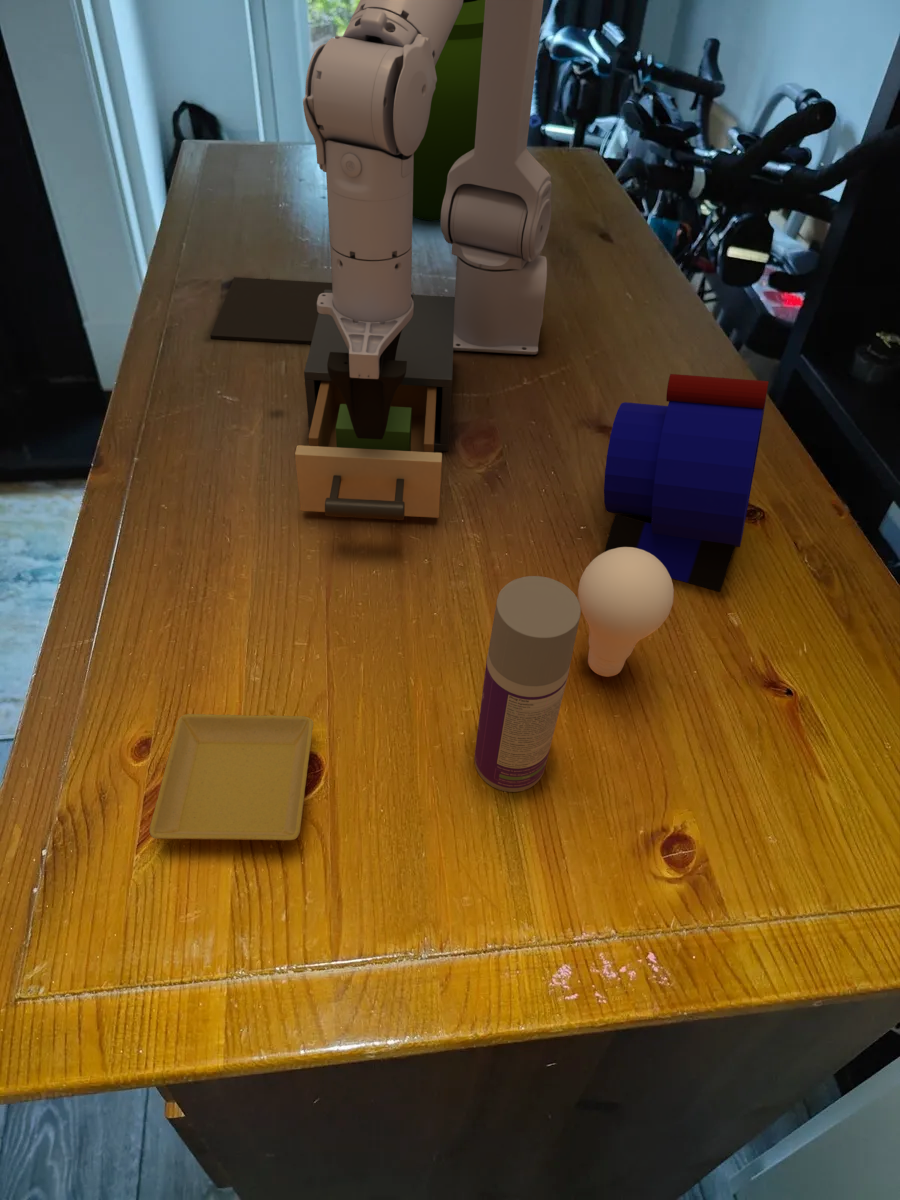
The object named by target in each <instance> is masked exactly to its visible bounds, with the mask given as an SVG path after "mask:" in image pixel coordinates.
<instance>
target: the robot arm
mask: <svg viewBox="0 0 900 1200" xmlns="http://www.w3.org/2000/svg"><path fill="white" fill-rule="evenodd" d="M462 5H463V0H359V1H358V3H357V6H356V7H355V9H354V12H353V14H352V16H351V18H350V20H349V22H348V25H347V26H346V28H345V30H344V32H343V35H342V36H340V35H335V36H334V37H331V38H330V39H329V40H327V42H326V43H323V44H320V45H319V46H318V47H317V48H316V49H315V50H314V52H313V54H312V56H311V58H310V61H309V63H308V67H307V71H306V78H305V91H304V92H305V95H304V98H302V106H303V107H302V108H303V112H304V113H303V114H304V118H305V122H306V125H307V128H308V130H309V132H310V134H311V136H312V138H313V140H314V145H315V153H316V154H315V155H316V164H318V165H319V166H318V167H319V169H320V170H321V171H322V172H324V173H325V175H326V176H325V177H326V178H325V179H326V196H327V215H328V232H329V233H328V235H329V248H330V249H329V250H330V251H329V252H330V269H331V283H332V292H333V293H322V294H320V295H319V296H318V300H317V311H318V313H320V314H327V315H331V316H332V317H333V319H334V321H335V323H336V325H337V327H338V329H339V331H340V333H341V335H342V337H343V339H344V341H345V343H346V345H347V347H348V350H349V353H342V352H330V353H329V358H328V362H327V368H328V373H329V376H330V379H331V380H332V381H333V382H334V384H335V385H336V386H337V388H338V389H339V391H340V392H341V394H342V396H343V398H344V400H345V403H346V405H347V408H348V412H349V415H350V419H351V422H352V426H353V429H354V431H355V434H356V436H357V438H363V439H383V436H384V434H385V430H386V426H387V421H388V416H389V410H390V406H391V402H392V399H393V397H394V394H395V392H396V391H397V389H398V387H399V386H400V385H401V383H402V381H403V379H404V377H405V374H406V367H407V361H397V360H395V357H396V351H397V346H398V342H399V338H400V335H401V332H402V329H403V328H404V327H405V326H406V324H407V323H408V322H409V321H410V320H411V318H412V316H413V310H414V304H413V296H412V295H413V294H412V269H413V266H412V265H413V218H414V217H413V164H414V152H415V151H416V149H417V148H418V146H419V145H420V143H421V141H422V139H423V137H424V135H425V132H426V128H427V124H428V120H429V114H430V108H431V101H432V96H433V93H434V91H435V88H436V87H435V85H436V82H437V76H436V71H435V65H436V63H437V61H438V59H439V56H440V54H441V52H442V50H443V48H444V45H445V43H446V41H447V39H448V37H449V34H450V32H451V30H452V28H453V25H454V23H455V21H456V19H457V16H458V14H459V12H460V10H461V8H462ZM543 8H544V0H485V13H484V27H483V40H482V54H481V68H480V81H479V95H478V109H477V122H476V136H475V148H474V149H473V150H471V151H469V152H468V153H466V154H464V155H463V156H461V157H460V158H459V159H458V160H457V161H456V162H455V163H454V164H453V166H452V167H451V169H450V171H449V173H448V177H447V186H446V193H445V196H444V199H443V204H442V209H441V220H440V231H441V233H442V236H443V238H444V240H445V242H446V243H448V244H451V255H452V256H456V268H455V270H456V271H455V289H454V297H455V305H454V339H453V351H461V352H478V353H494V354H495V353H497V354H512V355H513V354H514V355H515V354H516V355H531V356H533V355H537V354H539V342H540V334H541V327H542V325H543V320H544V319H543V318H544V307H545V298H546V291H547V290H546V289H547V279H548V261H547V256H545V255H541V253H542V252H543V249H544V247H545V244H546V242H547V239H548V235H549V231H550V226H551V220H552V201H551V199H552V198H551V197H552V185H553V183H552V182H551V181H552V175H551V174H550V173H549V171H548V170H547V169H546V168H545V167H544V166H543V165H542V164H541V163H540V162H539V160H537V159H536V158H535V157H534V156H533V155H532V153H530V151H529V150H528V140H529V139H528V138H529V132H530V130H529V128H530V122H531V113H532V104H533V96H534V95H533V94H534V86H535V77H536V69H537V62H538V61H537V59H538V53H539V52H538V51H539V43H540V36H541V35H540V34H541V26H542V17H543Z"/></svg>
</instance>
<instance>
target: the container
mask: <svg viewBox="0 0 900 1200" xmlns="http://www.w3.org/2000/svg"><path fill="white" fill-rule="evenodd" d="M581 613H582V611H581V607H580V603H579V598H578V596H577V595H576V594H575V593H574V591H572V589H571V588H569V587H568V586H567V585H565V584H564V583H562V582H560V581H558V580H556V579H554V578H551V577H548V576H547V577H545V576H541V575H527V576H522V577H518V578H515V579H513V580H511V581H510V582H508V583H506V584H505V585H504V586H503V587H502V588H501V590H500V591H499V593H498V595H497V598H496V604H495V610H494V614H493V621H492V627H491V632H490V640H489V645H488V649H487V650H488V651H487V656H486V662H485V670H484V678H483V685H482V692H481V701H480V710H479V716H478V723H477V734H476V741H475V748H474V767H475V769H476V772H477V774H478V775H479V776H480V778H481V779H482V780H483V781H484V782H485V783H486V784H487V785H489V786H490V787H492V788H493V789H496V790H499V791H502V792H508V793H518V792H523V791H527V790H529V789H531V788H532V787H534V786H536V784H537V783H539V781H540V780H541V779H542V777H543V775H544V773H545V769H546V766H547V762H548V758H549V755H550V750H551V746H552V742H553V738H554V734H555V730H556V726H557V722H558V719H559V714H560V710H561V706H562V701H563V699H564V698H563V697H564V694H565V690H566V686H567V681H568V677H569V675H570V674H569V673H570V668H571V667H570V666H571V663H572V659H573V653H574V648H575V644H576V643H575V642H576V639H577V633H578V630H579V629H578V628H579V624H580V619H581V615H582V614H581Z"/></svg>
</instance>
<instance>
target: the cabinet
mask: <svg viewBox="0 0 900 1200" xmlns="http://www.w3.org/2000/svg"><path fill="white" fill-rule="evenodd" d="M324 293H333V292H332V290H324ZM412 296H413V304H414V310H413V316H412V318H411V320H410V321H409V322H408V323H407V324H406V326H405V327H404V328H403V329H402V332H401V335H400V338H399V342H398V346H397V351H396V357H395V360H397V361H407V367H406V374H405V377H404V379H403V381H402V383H401V385H414V386H432V387H437V394H436V416H435V436H434V452H448V451H449V438H450V426H451V424H450V423H451V408H452V389H453V373H454V372H453V370H454V369H453V367H454V366H453V365H454V350H453V339H454V305H455V296H448V295H447V296H446V295H445V296H444V295H429V294H412ZM330 352H342V353H349V350H348V347H347V345H346V343H345V341H344V339H343V337H342V335H341V333H340V331H339V329H338V327H337V325H336V323H335V321H334V319H333V317H332V316H331V315H327V314H320V313H319V314H318V318H317V322H316V326H315V330H314V334H313V338H312V342H311V344H310V347H309V351H308V355H307V359H306V362H305V367H304V371H303V374H304V375H303V376H304V386H305V398H306V409H307V421H308V433H310V428H311V424H312V419H313V415H314V410H315V406H316V401H317V397H318V392H319V388H320V383H321V380H322V381H332V380H331V379H330V376H329V373H328V368H327V362H328V358H329V353H330Z"/></svg>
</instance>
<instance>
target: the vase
mask: <svg viewBox="0 0 900 1200" xmlns="http://www.w3.org/2000/svg"><path fill="white" fill-rule="evenodd" d="M484 13H485V0H463V5H462V8H461V10H460V12H459V14H458V16H457V19H456V21H455V23H454V25H453V28H452V30H451V32H450V34H449V37H448V39H447V41H446V43H445V45H444V48H443V50H442V52H441V54H440V56H439V59H438V61H437V63H436V65H435V71H436V76H437V82H436V85H435V87H436V88H435V91H434V93H433V96H432V101H431V108H430V114H429V120H428V124H427V128H426V132H425V135H424V137H423V139H422V141H421V143H420V145H419V146H418V148H417V149H416V151H415V152H414V164H413V218H415V219H418V220H422V221H423V220H425V221H441V209H442V204H443V199H444V196H445V193H446V186H447V177H448V173H449V171H450V169H451V167H452V166H453V164H454V163H455V162H456V161H457V160H458V159H459V158H460V157H461V156H463V155H464V154H466V153H468V152H469V151H471V150H473V149H474V148H475V136H476V122H477V109H478V95H479V81H480V68H481V54H482V40H483V27H484Z"/></svg>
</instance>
